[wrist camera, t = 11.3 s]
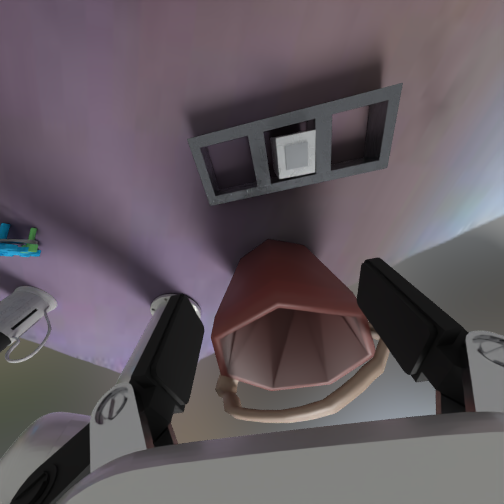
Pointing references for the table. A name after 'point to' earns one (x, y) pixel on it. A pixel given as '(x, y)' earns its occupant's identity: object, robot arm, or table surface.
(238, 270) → the bucket
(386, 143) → the grey compartment tray
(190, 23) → the table surface
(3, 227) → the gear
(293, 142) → the white slotted box
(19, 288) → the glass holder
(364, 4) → the table surface
